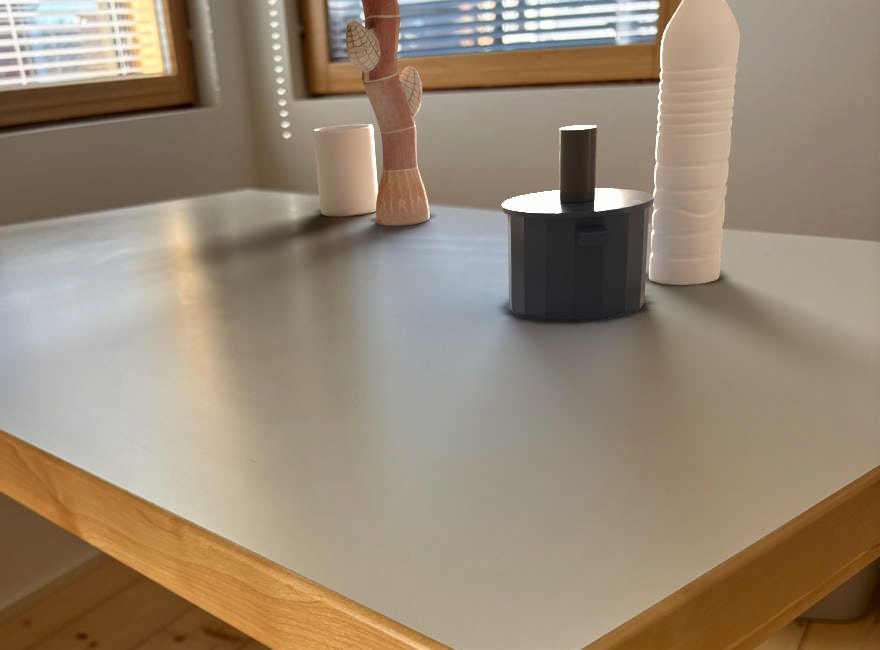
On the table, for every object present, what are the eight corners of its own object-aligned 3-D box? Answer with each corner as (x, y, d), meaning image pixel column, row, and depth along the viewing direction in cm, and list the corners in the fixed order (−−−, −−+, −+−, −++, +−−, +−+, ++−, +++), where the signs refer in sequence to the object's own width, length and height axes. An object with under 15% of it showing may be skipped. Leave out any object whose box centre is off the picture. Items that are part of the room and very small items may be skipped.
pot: (621, 283, 98) (625, 187, 94) (664, 328, 84) (671, 217, 79) (500, 292, 99) (498, 197, 94) (522, 338, 84) (521, 228, 80)
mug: (387, 211, 147) (381, 126, 141) (329, 218, 145) (321, 132, 139) (362, 202, 157) (356, 121, 151) (308, 208, 155) (300, 127, 149)
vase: (421, 213, 143) (407, -44, 128) (442, 220, 137) (430, -50, 122) (350, 223, 140) (327, -40, 125) (368, 230, 134) (346, -45, 119)
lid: (635, 197, 93) (639, 115, 89) (669, 220, 82) (675, 127, 78) (495, 208, 93) (493, 127, 89) (511, 232, 82) (510, 140, 79)
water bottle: (716, 288, 94) (743, -38, 81) (643, 287, 96) (659, -30, 84) (724, 268, 101) (750, -35, 88) (656, 268, 103) (673, -28, 91)
